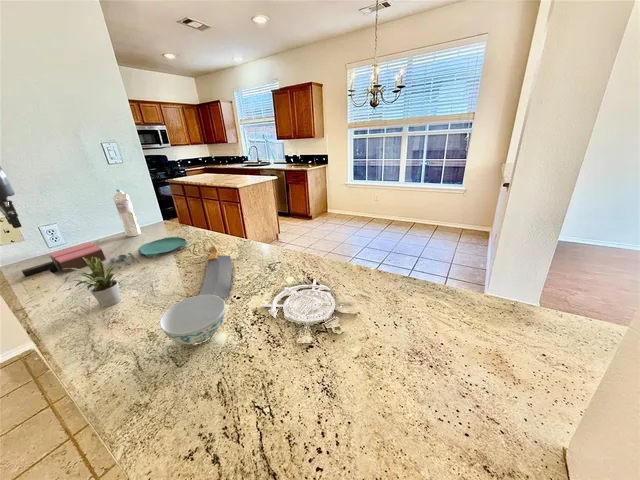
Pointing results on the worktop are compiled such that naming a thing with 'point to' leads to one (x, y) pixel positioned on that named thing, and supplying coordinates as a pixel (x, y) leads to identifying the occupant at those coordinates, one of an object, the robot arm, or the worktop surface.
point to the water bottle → (126, 214)
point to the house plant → (101, 283)
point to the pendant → (305, 304)
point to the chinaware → (193, 319)
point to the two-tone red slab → (77, 256)
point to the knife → (41, 269)
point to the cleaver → (217, 275)
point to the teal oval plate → (155, 248)
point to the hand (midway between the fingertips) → (15, 225)
